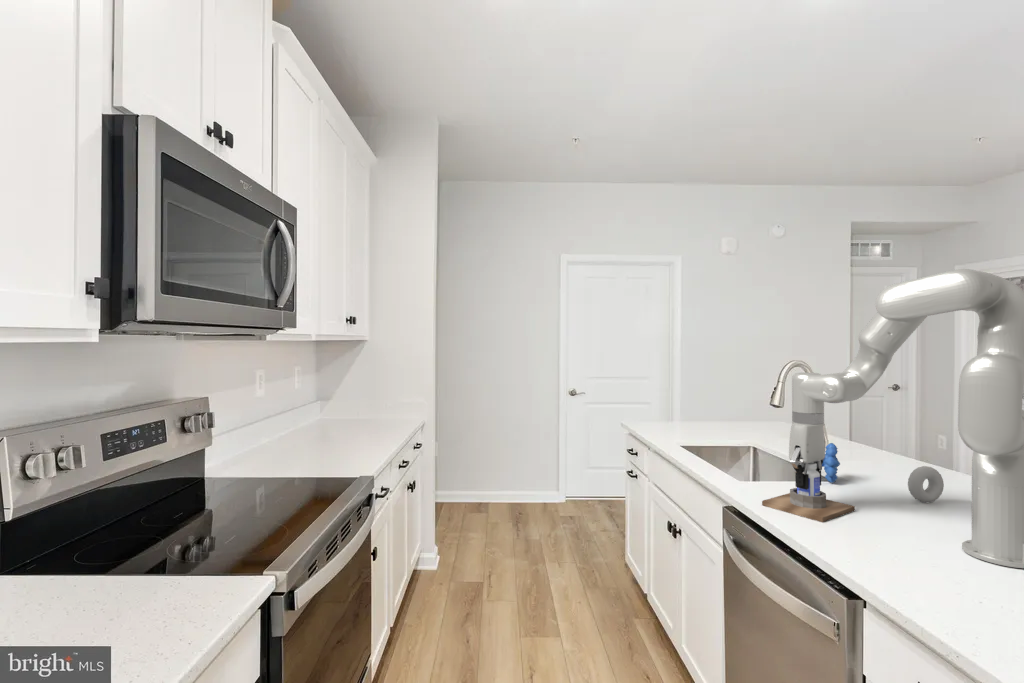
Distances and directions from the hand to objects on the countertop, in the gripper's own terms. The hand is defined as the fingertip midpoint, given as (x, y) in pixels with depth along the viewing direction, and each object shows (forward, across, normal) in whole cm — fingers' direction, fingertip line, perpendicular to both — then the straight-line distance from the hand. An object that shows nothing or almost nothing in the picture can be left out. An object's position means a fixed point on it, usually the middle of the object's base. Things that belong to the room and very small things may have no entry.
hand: (808, 485), depth 142 cm
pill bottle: (+4, 0, 0) cm, 4 cm away
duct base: (+6, 0, 0) cm, 6 cm away
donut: (+6, -32, +15) cm, 36 cm away
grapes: (+6, -32, -11) cm, 34 cm away
